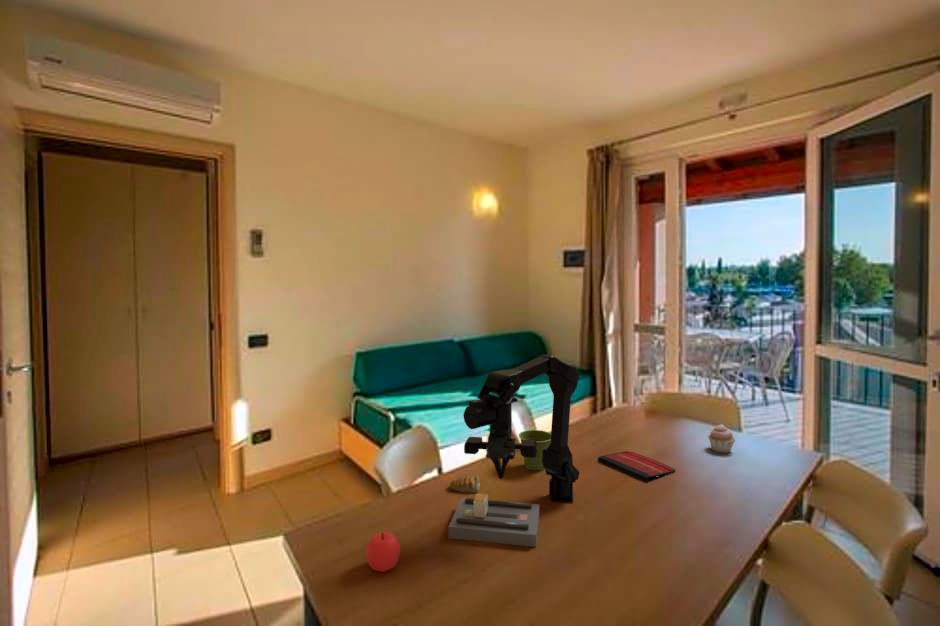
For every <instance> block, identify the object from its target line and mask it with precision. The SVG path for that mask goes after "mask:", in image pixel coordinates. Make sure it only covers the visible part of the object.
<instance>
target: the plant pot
mask: <svg viewBox="0 0 940 626" xmlns="http://www.w3.org/2000/svg"><path fill="white" fill-rule="evenodd" d="M518 437H519V439H520V444H521V443H522V440H535V441H536V442H537V455H536V457H535V458H528V457H523V459H524V460H523V462H524V466H525V468H526V469H527V470H530V471H532V470H533V471H538V472H540V471H545V468H544V467H543V463H542V459H543V450H544V449H547V447H548V446H549V445H550V442H551V432H549V431H546V430H540V429H528V430H524V431H523V430H522V431H521V432H520V433H518ZM533 471H532V472H533Z"/></svg>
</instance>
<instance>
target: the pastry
mask: <svg viewBox="0 0 940 626" xmlns="http://www.w3.org/2000/svg"><path fill="white" fill-rule="evenodd" d="M449 486H450V489H451V490H452V491H456V492H459V493H460V492H461V493H467V492H469V493H468V494H478V493H479V492H480V486H481V481H480V478H479V476H478V475H477V476H469V475H468V476H465V477H461V478H459V477H458V478H457V479H453V480H452V481H451V482H450V483H449Z"/></svg>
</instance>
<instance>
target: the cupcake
mask: <svg viewBox="0 0 940 626" xmlns="http://www.w3.org/2000/svg"><path fill="white" fill-rule="evenodd" d="M707 438H708V440H709V444H710V448H711V450H712V451H714V452H716V453H721V454H729V453H730V452H731V451H732V447H733V445H734V444H735V442H736V439H735V437H734V435H733V433H732V431H731V430H730V429H729V428H728V427H726V426H725V425H724V424H722V423H720V424H719V425H716V426H714V428H713V429H712V430H711V431H710V434H709V435H707Z"/></svg>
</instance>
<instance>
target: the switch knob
mask: <svg viewBox="0 0 940 626" xmlns="http://www.w3.org/2000/svg"><path fill="white" fill-rule="evenodd" d="M474 499H475V500H474V502H473V504H474V517H481V518H485V516H486V513H487V510H488V500H489V494H487V493H479V492H477V493H476V495H475V497H474Z"/></svg>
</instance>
